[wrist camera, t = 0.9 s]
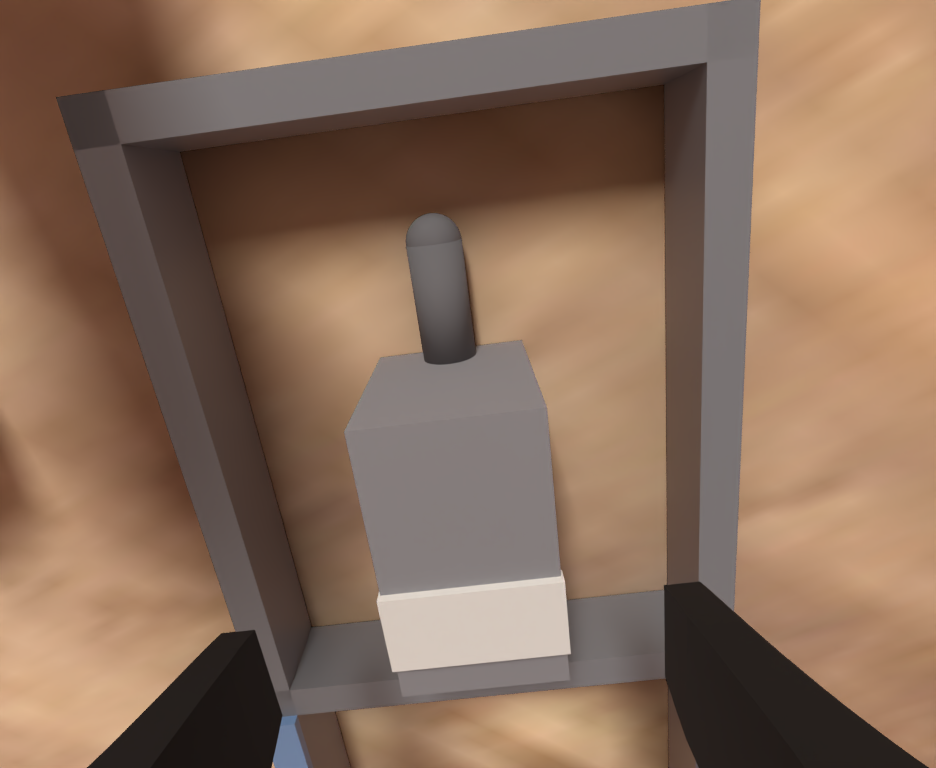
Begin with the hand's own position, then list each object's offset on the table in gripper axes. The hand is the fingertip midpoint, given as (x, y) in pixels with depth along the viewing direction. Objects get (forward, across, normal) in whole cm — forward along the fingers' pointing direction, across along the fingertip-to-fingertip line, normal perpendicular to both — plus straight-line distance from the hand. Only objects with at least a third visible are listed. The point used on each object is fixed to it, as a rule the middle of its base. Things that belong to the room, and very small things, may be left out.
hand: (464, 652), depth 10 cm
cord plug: (+7, 0, -2) cm, 8 cm away
